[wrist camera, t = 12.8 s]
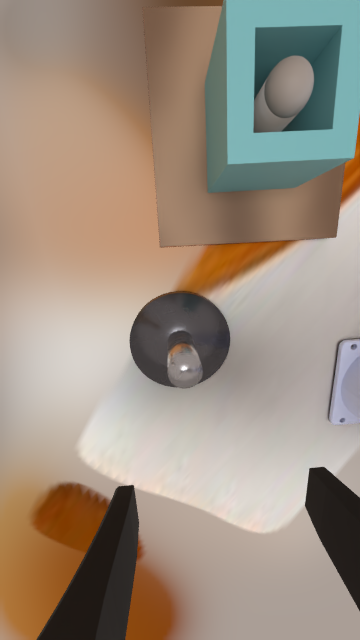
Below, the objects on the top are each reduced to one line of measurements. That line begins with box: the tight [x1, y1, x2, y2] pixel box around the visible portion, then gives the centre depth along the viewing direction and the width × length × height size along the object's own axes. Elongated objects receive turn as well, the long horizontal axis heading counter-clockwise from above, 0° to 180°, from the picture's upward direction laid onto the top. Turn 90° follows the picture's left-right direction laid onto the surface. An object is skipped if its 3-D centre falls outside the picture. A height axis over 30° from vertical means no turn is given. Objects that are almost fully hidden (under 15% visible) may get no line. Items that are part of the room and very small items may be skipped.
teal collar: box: [205, 0, 360, 193], centre depth 12 cm, size 6×6×5 cm
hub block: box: [143, 6, 345, 247], centre depth 12 cm, size 12×12×6 cm
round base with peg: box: [130, 291, 230, 388], centre depth 16 cm, size 8×8×6 cm
